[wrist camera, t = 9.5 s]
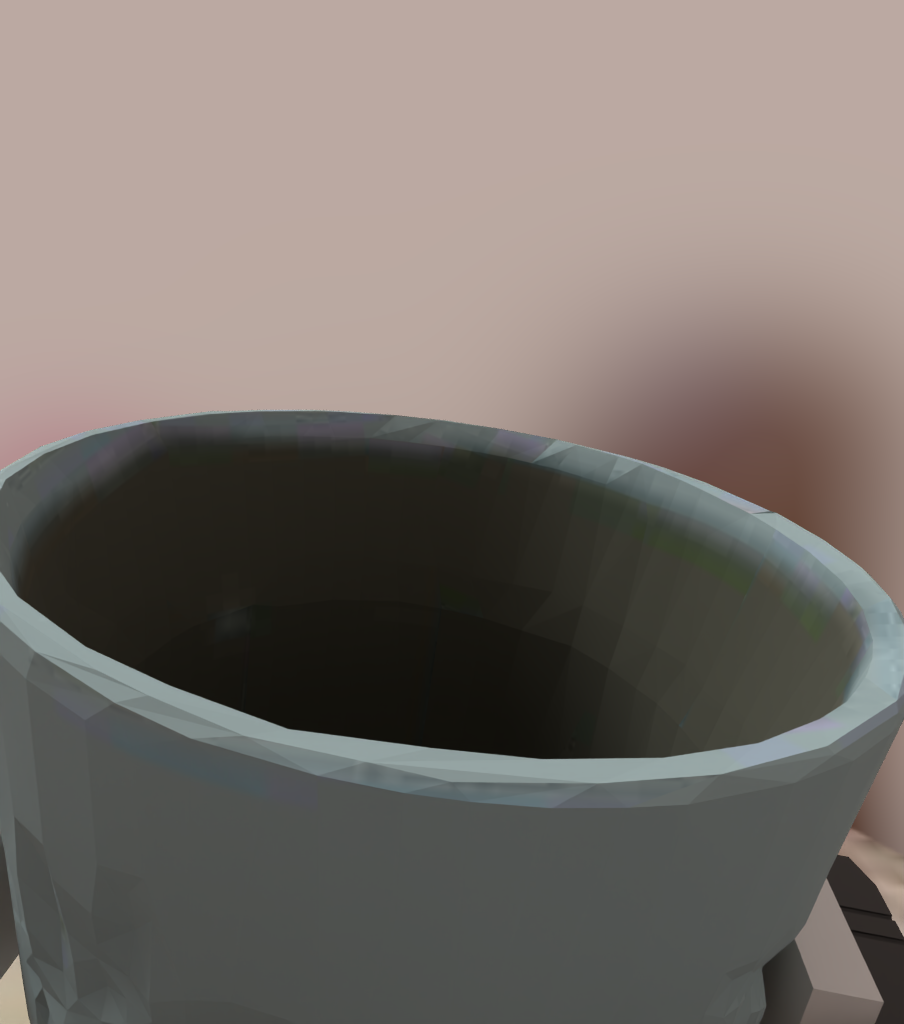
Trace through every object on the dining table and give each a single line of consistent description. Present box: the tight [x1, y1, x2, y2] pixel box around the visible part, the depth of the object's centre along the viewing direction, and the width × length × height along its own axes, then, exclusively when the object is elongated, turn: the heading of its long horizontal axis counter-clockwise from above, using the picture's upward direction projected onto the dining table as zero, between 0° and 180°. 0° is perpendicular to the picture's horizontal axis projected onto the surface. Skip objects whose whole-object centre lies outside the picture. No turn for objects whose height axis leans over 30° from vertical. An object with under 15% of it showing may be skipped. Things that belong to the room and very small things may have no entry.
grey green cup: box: [0, 410, 904, 1024], centre depth 11 cm, size 10×10×12 cm
